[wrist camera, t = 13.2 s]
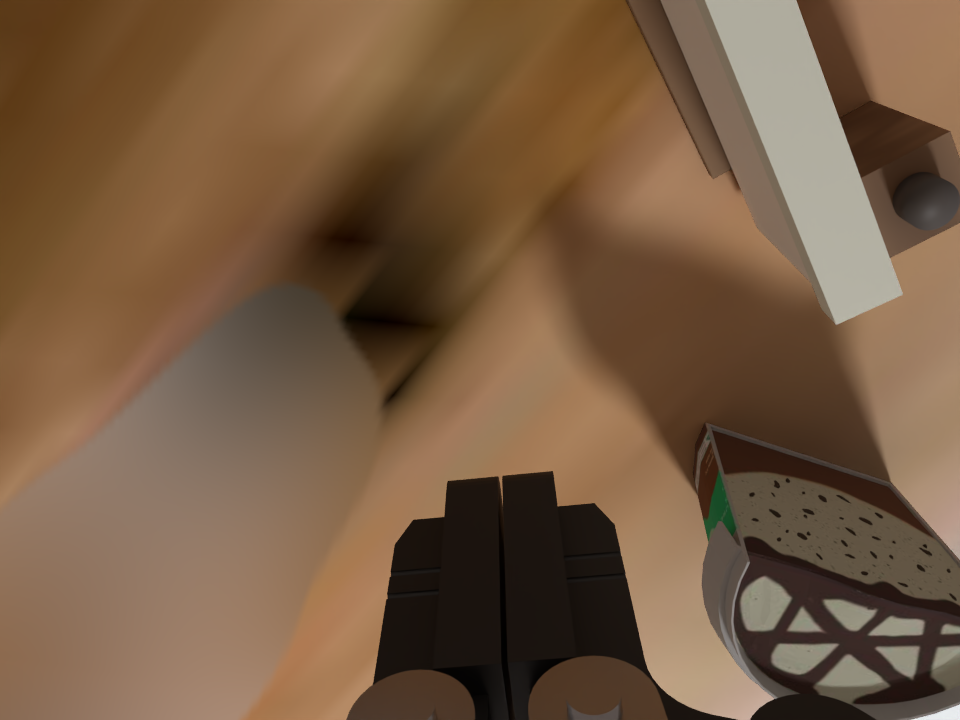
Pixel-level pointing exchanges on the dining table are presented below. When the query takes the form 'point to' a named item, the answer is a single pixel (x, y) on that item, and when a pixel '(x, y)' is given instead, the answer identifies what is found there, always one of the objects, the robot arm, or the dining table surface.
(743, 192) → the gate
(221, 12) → the dining table surface
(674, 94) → the sill
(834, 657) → the food container
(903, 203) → the latch post
